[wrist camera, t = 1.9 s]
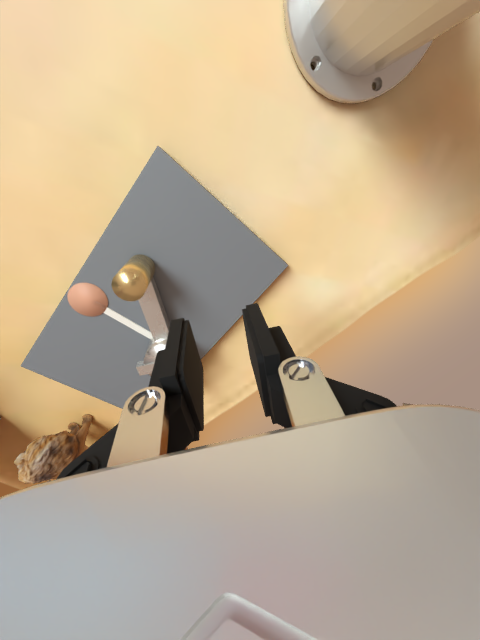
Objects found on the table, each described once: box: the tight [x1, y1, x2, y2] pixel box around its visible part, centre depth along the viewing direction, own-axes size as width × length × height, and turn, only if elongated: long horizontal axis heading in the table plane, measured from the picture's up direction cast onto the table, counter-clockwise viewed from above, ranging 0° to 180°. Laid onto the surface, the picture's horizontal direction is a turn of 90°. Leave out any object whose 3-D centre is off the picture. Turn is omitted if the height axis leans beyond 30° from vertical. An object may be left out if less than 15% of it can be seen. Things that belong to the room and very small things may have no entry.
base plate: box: [21, 146, 288, 409], centre depth 29 cm, size 28×16×1 cm, turn 139°
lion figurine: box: [14, 414, 93, 484], centre depth 34 cm, size 15×5×9 cm, turn 25°
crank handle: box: [111, 254, 170, 376], centre depth 27 cm, size 16×6×5 cm, turn 9°
